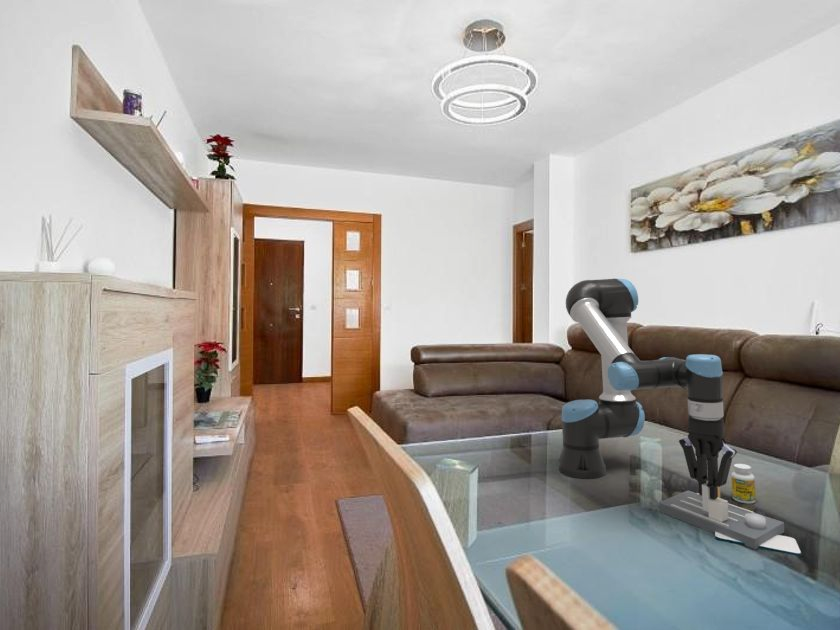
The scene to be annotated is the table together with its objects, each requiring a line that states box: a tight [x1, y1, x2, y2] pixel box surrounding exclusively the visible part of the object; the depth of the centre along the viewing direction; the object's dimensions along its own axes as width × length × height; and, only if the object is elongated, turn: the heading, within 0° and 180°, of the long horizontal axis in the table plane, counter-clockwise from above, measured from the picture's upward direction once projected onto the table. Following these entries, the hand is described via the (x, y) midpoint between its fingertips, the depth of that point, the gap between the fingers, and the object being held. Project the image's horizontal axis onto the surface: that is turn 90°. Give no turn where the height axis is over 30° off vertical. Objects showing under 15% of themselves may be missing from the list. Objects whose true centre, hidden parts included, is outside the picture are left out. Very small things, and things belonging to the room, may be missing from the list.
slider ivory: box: [708, 497, 729, 522], centre depth 111 cm, size 3×3×4 cm
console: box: [658, 489, 785, 551], centre depth 115 cm, size 23×14×4 cm, turn 29°
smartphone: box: [713, 531, 802, 556], centre depth 106 cm, size 8×1×16 cm
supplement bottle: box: [730, 463, 757, 505], centre depth 126 cm, size 5×5×10 cm
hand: (708, 509), depth 113 cm, fingers closed
